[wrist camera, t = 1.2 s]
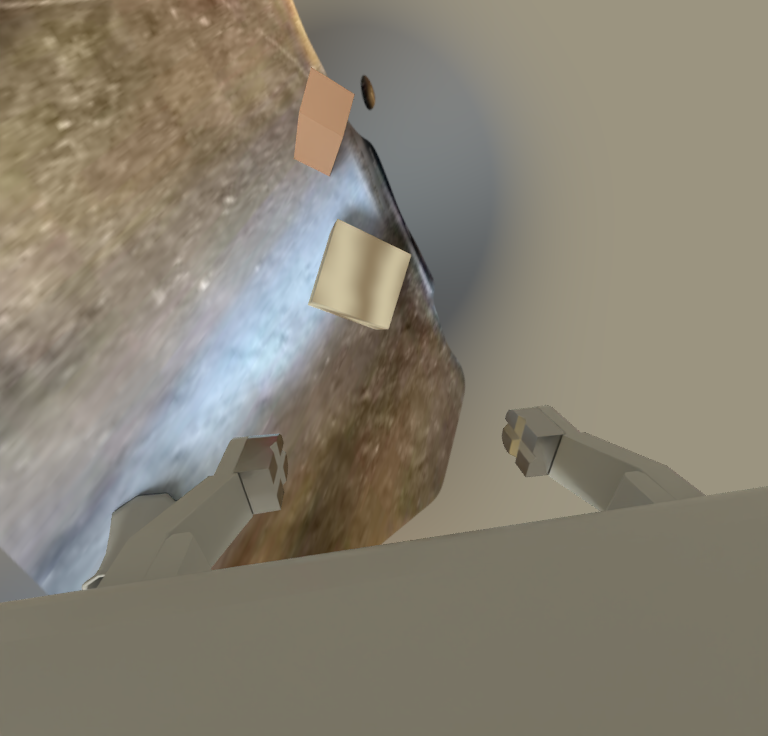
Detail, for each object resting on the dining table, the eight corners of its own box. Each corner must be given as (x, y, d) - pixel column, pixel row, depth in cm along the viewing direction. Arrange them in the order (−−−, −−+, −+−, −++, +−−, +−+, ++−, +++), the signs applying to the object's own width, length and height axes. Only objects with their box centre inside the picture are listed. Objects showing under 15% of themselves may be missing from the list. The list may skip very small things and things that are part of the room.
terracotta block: (293, 158, 36) (299, 112, 28) (303, 123, 36) (311, 67, 28) (329, 176, 37) (343, 136, 30) (338, 142, 37) (354, 94, 30)
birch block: (307, 305, 38) (312, 300, 34) (330, 232, 38) (337, 218, 34) (375, 329, 42) (388, 329, 37) (396, 263, 42) (411, 254, 37)
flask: (173, 482, 35) (137, 536, 26) (194, 533, 36) (167, 601, 27) (100, 508, 33) (31, 577, 23) (126, 561, 34) (70, 646, 25)
